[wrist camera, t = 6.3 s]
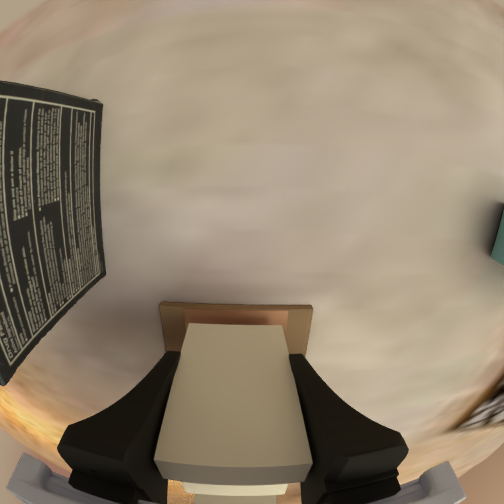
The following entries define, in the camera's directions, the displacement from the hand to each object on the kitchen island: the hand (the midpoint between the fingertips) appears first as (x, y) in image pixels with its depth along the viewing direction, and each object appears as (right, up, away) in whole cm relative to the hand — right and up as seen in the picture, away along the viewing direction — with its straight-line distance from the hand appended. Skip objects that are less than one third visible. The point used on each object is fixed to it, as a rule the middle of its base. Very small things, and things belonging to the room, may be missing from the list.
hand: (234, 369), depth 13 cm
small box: (-11, +9, +2) cm, 14 cm away
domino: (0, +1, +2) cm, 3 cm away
